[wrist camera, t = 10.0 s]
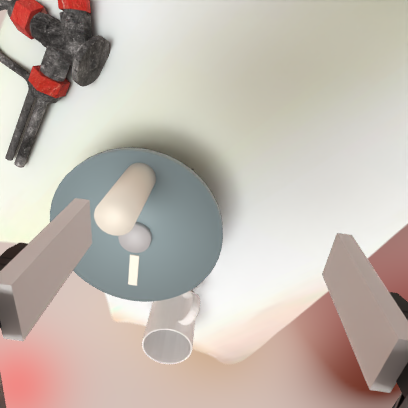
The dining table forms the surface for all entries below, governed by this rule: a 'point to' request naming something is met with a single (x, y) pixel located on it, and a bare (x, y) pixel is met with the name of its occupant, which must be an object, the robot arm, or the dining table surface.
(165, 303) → the mug
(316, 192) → the dining table surface
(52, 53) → the dark grey forked tool
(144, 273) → the handwheel
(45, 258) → the robot arm
